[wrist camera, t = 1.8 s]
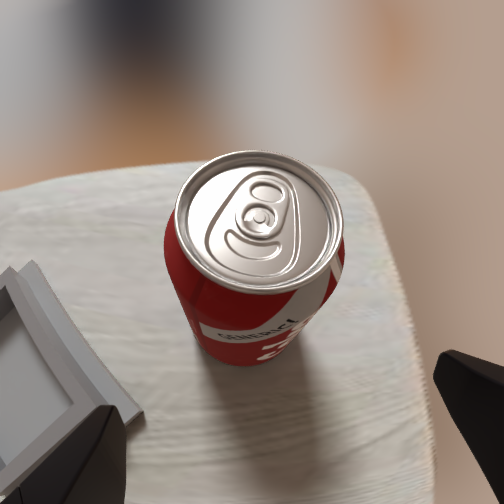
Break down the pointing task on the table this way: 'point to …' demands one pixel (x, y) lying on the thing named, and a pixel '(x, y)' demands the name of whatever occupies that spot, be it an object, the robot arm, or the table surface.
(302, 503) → the table surface
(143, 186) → the table surface
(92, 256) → the table surface
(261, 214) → the soda can
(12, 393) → the square gray tray
